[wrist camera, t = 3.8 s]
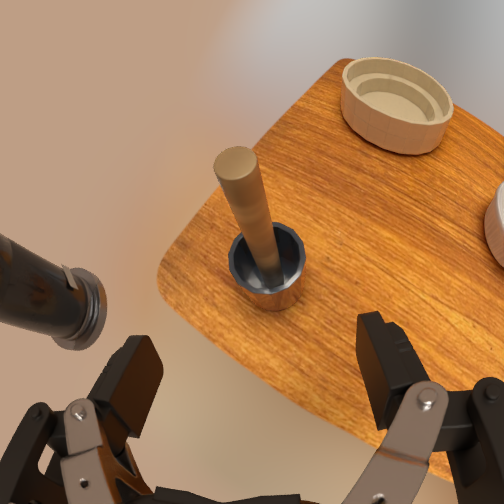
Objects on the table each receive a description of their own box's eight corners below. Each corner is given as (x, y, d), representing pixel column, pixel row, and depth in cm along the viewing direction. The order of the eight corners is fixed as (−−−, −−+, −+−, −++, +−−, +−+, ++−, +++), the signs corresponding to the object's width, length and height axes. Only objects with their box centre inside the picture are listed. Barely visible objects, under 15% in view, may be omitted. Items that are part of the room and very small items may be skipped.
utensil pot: (237, 301, 27) (217, 281, 20) (257, 248, 28) (244, 213, 22) (293, 319, 25) (291, 304, 19) (311, 263, 27) (314, 231, 21)
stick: (262, 287, 26) (206, 175, 11) (268, 269, 27) (223, 143, 11) (280, 292, 26) (247, 183, 10) (286, 274, 26) (263, 148, 11)
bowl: (332, 139, 32) (334, 103, 27) (347, 79, 37) (348, 49, 31) (443, 171, 28) (461, 141, 23) (435, 103, 33) (444, 76, 27)
